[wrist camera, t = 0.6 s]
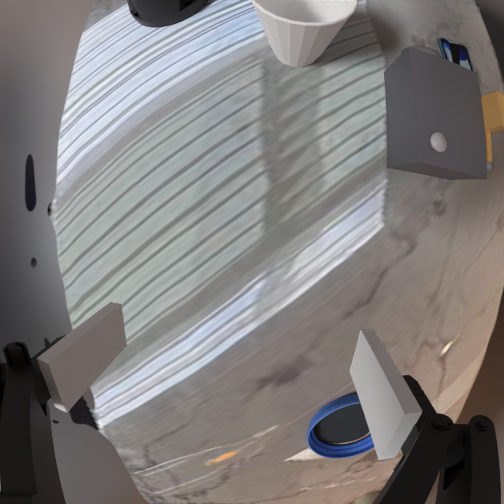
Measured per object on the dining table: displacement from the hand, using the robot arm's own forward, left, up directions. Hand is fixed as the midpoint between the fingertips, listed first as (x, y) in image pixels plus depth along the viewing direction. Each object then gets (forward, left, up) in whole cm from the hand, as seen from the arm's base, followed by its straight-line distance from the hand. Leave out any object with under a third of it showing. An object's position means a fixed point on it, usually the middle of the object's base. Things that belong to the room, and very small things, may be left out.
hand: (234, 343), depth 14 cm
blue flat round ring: (+35, +20, -28) cm, 49 cm away
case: (-22, +24, -27) cm, 43 cm away
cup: (-31, +4, -28) cm, 42 cm away
